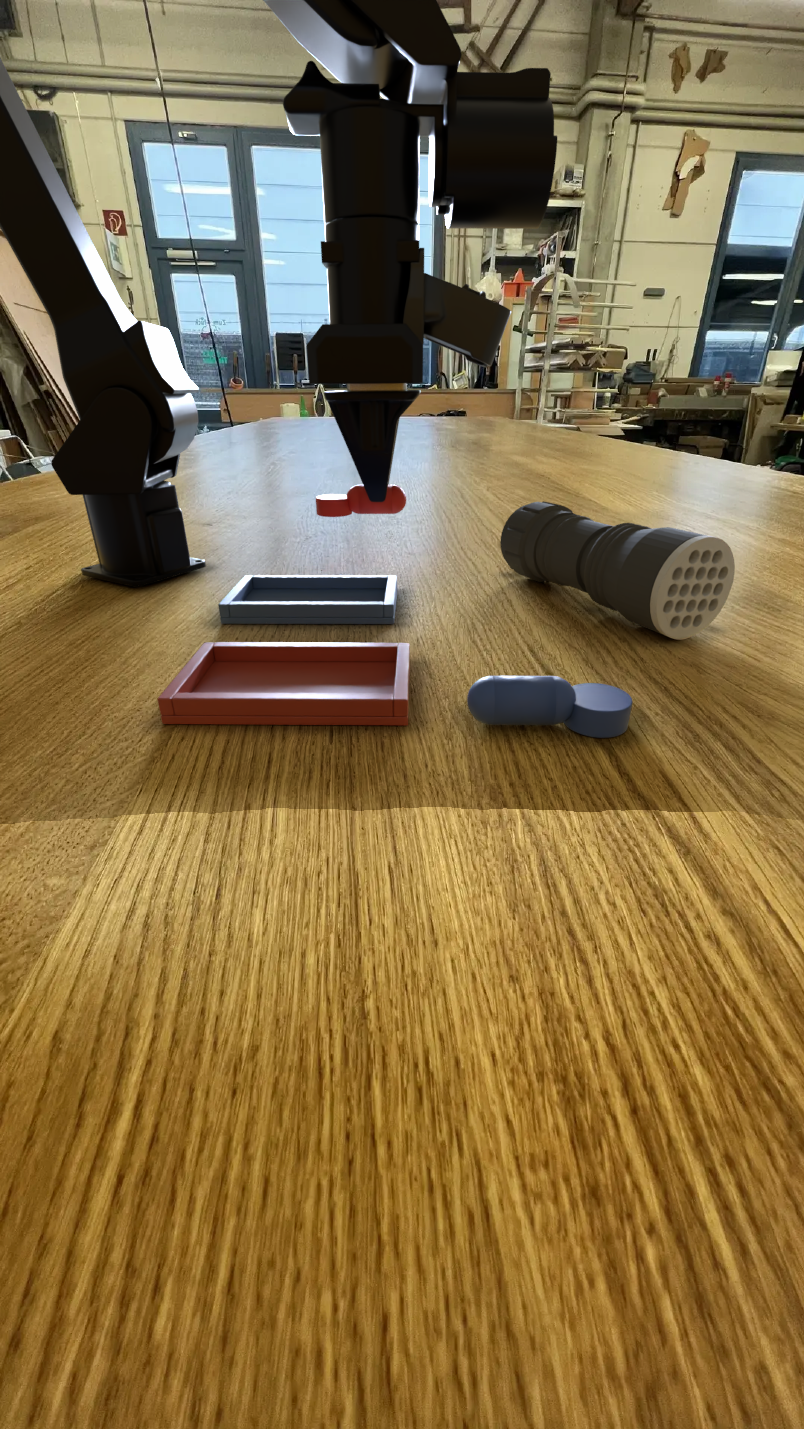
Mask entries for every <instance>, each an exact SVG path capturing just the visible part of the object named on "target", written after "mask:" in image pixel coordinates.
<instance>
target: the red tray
mask: <svg viewBox="0 0 804 1429" xmlns="http://www.w3.org/2000/svg"><path fill="white" fill-rule="evenodd" d="M410 674H411V644H410V642H352V641H351V642H348V641H347V642H341V641H340V642H339V641H337V642H332V641H331V642H328V641H327V642H325V641H324V642H323V641H322V642H320V641H318V642H313V641H312V642H310V641H309V642H307V641H306V642H305V641H304V642H303V641H301V642H300V641H299V642H297V641H295V642H294V641H291V642H289V641H287V642H286V641H284V642H283V641H268V642H267V641H260V642H259V641H229V642H228V641H216V642H214V641H210V642H209V641H205V642H203V643H202V644H201V646H199V648H198V649H197V650H196V651H195V653H194V654H193V655H192V656H191V657H190V659H189V660H188V661H187V662H186V663H185V665H184V666H183V667H182V669H181V670H180V671H179V672H178V673H177V675H175V677H173V679H172V680H171V682H169V684H168V685H167V686H166V687H165V689H164V690H163V691H162V692H161V693H160V695H159V696H158V697H157V704H158V709H159V713H160V718H161V723H162V724H163V725H263V726H264V725H266V726H267V725H270V726H271V725H273V726H275V725H277V726H278V725H280V726H281V725H282V726H283V725H286V726H288V725H289V726H290V725H291V726H292V725H293V726H294V725H295V726H297V725H298V726H408V725H409V710H410V709H409V707H410V706H409V705H410V677H411V676H410Z"/></svg>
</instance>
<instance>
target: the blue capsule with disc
mask: <svg viewBox="0 0 804 1429" xmlns="http://www.w3.org/2000/svg"><path fill="white" fill-rule="evenodd" d="M466 702H467V703H466V704H467V705H466V706H467V709H468V711H469V712H470V715H471V716H472V717H473V718H474V719H476V721H478V722H480V723H482V724H484V725H490V726H491V725H492V726H557V725H559V724H564V725H565V727H567V728H568V729H569V730H571V731H573V732H574V733H577V734H579V735H582V736H586V737H589V738H590V737H591V738H598V739H607V738H614V737H615V738H616V737H618V736H621V735H623V734H624V733H626V731H627V730H628V727H629V723H630V718H631V713H632V708H633V698H632V696H631V695H630V694H629V693H628V692H627V691H625V690H624V689H621V688H619V687H617V686H613V685H610V684H605V683H599V682H583V683H577V684H574V685H572V684H571V683H570V682H569V681H567V680H566V679H564V678H562V677H560V676H557V675H487V676H483V677H481V678H479V679H477V680H476V681H475V682H473V684H472V685H471V686H470V688H469V689H468V692H467V696H466Z"/></svg>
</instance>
